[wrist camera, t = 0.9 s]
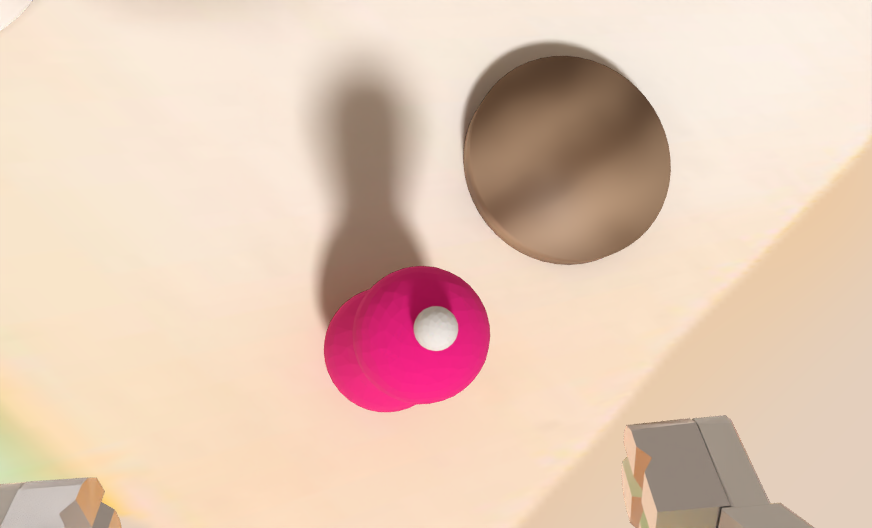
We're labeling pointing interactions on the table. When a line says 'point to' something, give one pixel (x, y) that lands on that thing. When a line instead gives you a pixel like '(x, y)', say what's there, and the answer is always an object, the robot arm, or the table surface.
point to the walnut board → (567, 160)
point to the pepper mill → (407, 340)
